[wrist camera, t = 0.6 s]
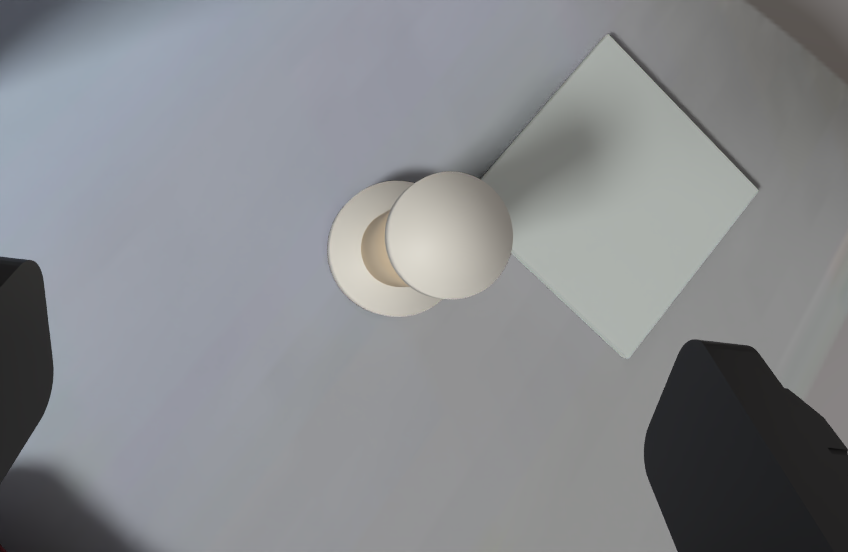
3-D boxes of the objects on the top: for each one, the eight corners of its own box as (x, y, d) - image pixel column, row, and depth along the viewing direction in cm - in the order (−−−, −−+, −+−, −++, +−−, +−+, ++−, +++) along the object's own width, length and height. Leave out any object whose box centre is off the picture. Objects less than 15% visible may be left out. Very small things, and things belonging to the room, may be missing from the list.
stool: (299, 255, 35) (320, 242, 24) (386, 158, 36) (444, 104, 25) (398, 342, 36) (461, 366, 25) (480, 245, 37) (574, 229, 26)
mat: (458, 204, 36) (462, 202, 36) (602, 37, 38) (608, 33, 38) (622, 357, 38) (628, 358, 38) (751, 192, 40) (759, 190, 40)
